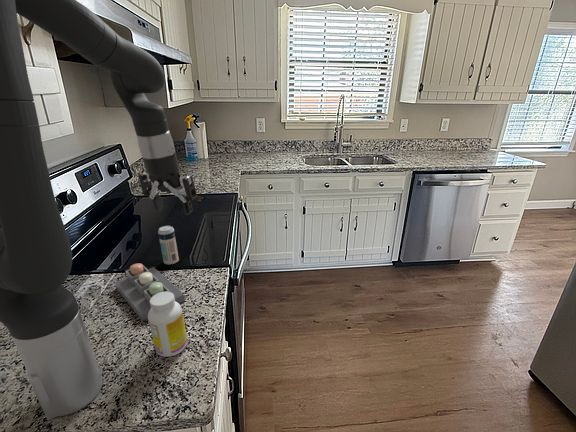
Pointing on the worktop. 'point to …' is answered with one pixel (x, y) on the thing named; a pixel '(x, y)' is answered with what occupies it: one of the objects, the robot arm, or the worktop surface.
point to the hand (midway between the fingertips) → (174, 211)
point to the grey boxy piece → (144, 291)
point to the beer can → (168, 245)
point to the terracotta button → (136, 269)
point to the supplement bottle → (167, 324)
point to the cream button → (145, 278)
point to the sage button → (155, 288)
